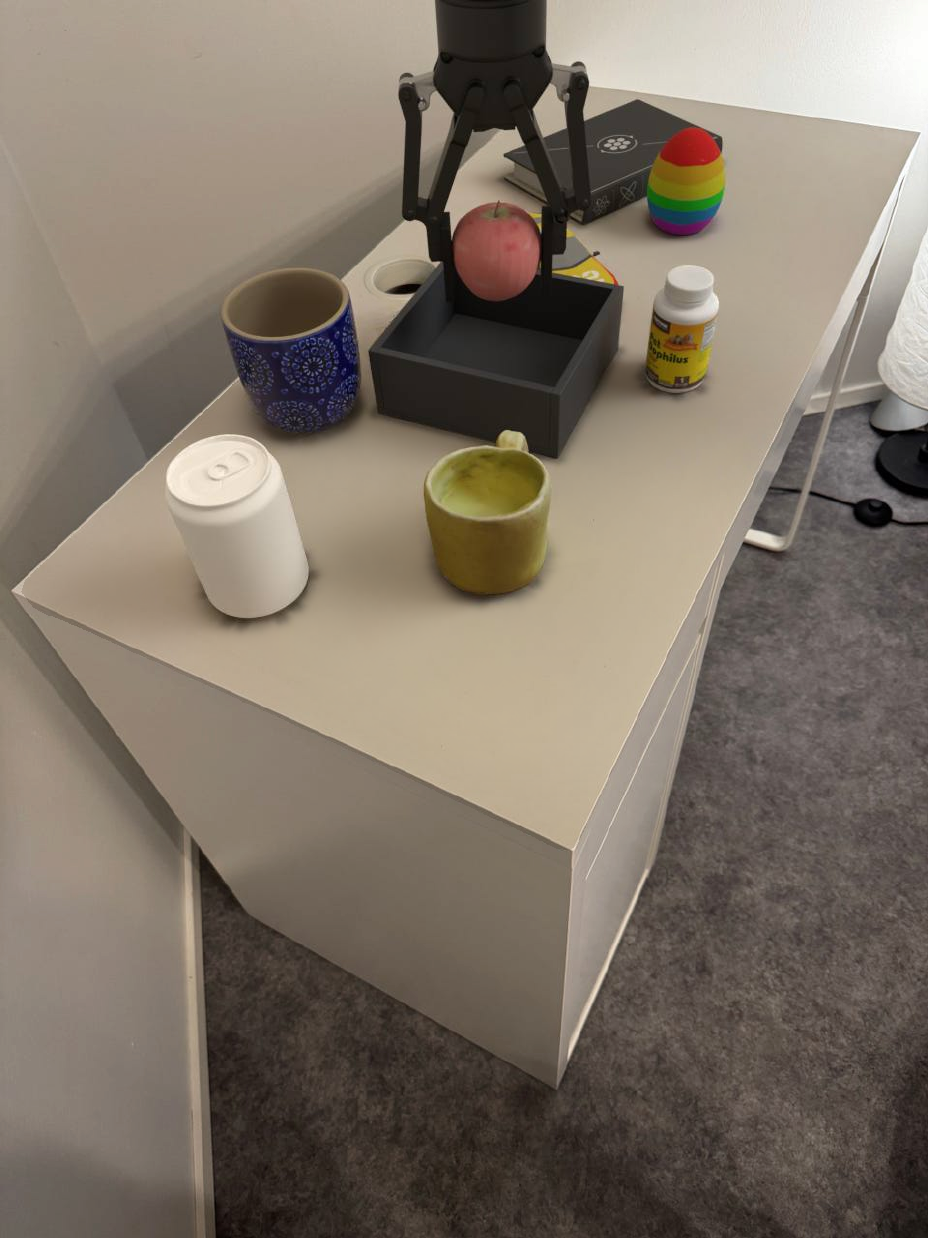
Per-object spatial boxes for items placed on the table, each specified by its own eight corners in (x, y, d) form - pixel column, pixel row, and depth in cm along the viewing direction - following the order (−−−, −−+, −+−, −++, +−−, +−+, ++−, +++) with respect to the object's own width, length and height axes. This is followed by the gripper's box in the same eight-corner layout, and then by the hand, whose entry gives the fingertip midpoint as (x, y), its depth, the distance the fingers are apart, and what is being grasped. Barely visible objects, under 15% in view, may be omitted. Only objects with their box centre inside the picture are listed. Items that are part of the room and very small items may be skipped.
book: (584, 226, 101) (586, 199, 99) (503, 178, 109) (502, 153, 106) (720, 163, 108) (725, 137, 106) (635, 123, 116) (637, 98, 114)
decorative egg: (699, 199, 103) (713, 106, 96) (730, 233, 98) (748, 139, 91) (632, 211, 102) (641, 119, 95) (660, 247, 97) (672, 153, 90)
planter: (272, 369, 88) (243, 263, 79) (380, 376, 86) (364, 268, 77) (235, 443, 81) (200, 336, 72) (352, 453, 79) (330, 344, 71)
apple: (485, 261, 81) (482, 171, 74) (556, 284, 78) (559, 192, 72) (437, 302, 77) (430, 211, 71) (510, 327, 74) (509, 235, 68)
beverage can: (188, 582, 71) (136, 469, 62) (272, 529, 74) (235, 414, 65) (244, 641, 67) (198, 529, 58) (331, 582, 70) (300, 467, 61)
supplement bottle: (632, 381, 84) (643, 280, 76) (665, 352, 86) (679, 251, 78) (684, 404, 81) (701, 303, 73) (716, 373, 84) (736, 272, 76)
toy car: (562, 336, 88) (564, 291, 84) (484, 255, 98) (482, 211, 94) (630, 313, 90) (634, 268, 86) (546, 236, 100) (547, 192, 96)
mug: (530, 621, 64) (502, 496, 59) (417, 603, 70) (382, 488, 65) (603, 536, 72) (584, 419, 67) (495, 527, 78) (470, 418, 73)
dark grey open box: (618, 349, 87) (624, 285, 81) (557, 458, 78) (560, 394, 72) (452, 314, 92) (447, 252, 86) (377, 413, 83) (367, 350, 77)
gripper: (637, -52, 61) (611, 259, 79) (340, -32, 62) (381, 273, 80) (653, -14, 57) (622, 308, 75) (332, 8, 57) (378, 322, 75)
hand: (498, 289), depth 77 cm, fingers closed on apple, 7 cm apart
